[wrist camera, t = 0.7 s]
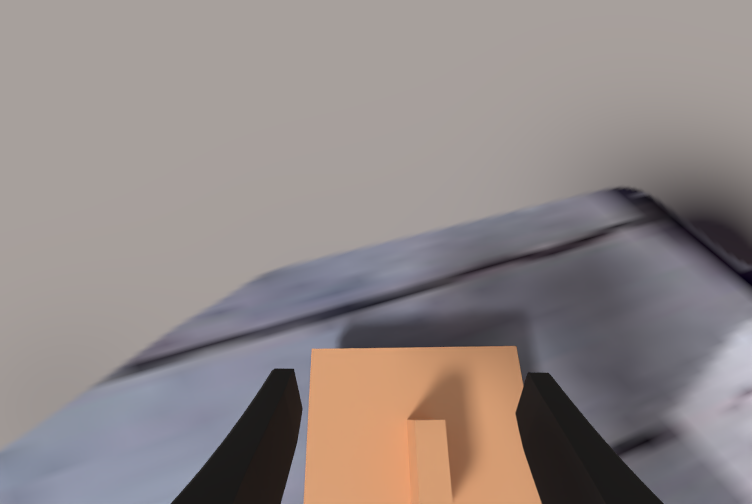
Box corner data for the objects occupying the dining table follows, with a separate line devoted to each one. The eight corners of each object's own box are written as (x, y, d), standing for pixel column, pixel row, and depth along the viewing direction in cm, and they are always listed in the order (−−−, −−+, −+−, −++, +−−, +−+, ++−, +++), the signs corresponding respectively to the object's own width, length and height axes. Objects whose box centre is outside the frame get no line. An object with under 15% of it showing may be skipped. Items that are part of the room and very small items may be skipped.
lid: (549, 600, 20) (607, 658, 15) (302, 612, 19) (283, 675, 15) (507, 349, 25) (540, 335, 21) (314, 352, 25) (304, 338, 20)
